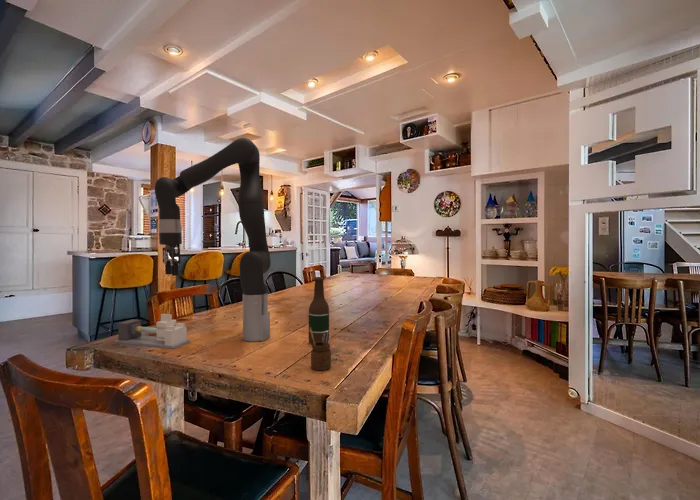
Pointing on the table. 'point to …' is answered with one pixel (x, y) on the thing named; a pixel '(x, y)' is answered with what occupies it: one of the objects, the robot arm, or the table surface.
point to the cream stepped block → (164, 325)
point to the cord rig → (132, 335)
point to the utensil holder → (320, 354)
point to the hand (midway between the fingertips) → (171, 274)
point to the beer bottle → (319, 314)
